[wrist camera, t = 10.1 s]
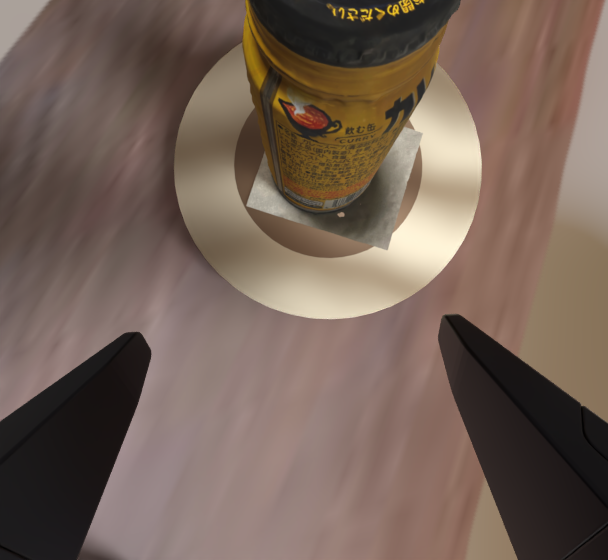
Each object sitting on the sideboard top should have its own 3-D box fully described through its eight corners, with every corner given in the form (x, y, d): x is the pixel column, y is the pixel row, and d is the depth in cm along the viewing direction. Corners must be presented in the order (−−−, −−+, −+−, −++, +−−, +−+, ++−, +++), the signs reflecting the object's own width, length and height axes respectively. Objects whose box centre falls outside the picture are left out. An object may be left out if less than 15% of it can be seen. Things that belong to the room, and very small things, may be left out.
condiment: (285, 91, 19) (257, -275, 7) (421, 134, 19) (641, -157, 7) (246, 207, 18) (143, 39, 6) (386, 251, 18) (549, 167, 6)
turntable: (454, 333, 20) (467, 336, 18) (165, 299, 19) (153, 300, 18) (479, 55, 20) (494, 35, 19) (203, 22, 20) (195, 0, 19)
